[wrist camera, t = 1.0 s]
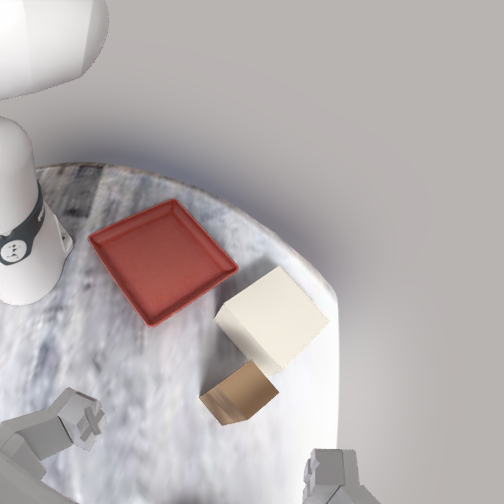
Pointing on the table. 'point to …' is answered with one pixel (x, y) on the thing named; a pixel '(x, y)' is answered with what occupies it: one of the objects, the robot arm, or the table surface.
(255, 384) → the walnut block
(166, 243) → the plant saucer
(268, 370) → the plinth
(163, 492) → the table surface
